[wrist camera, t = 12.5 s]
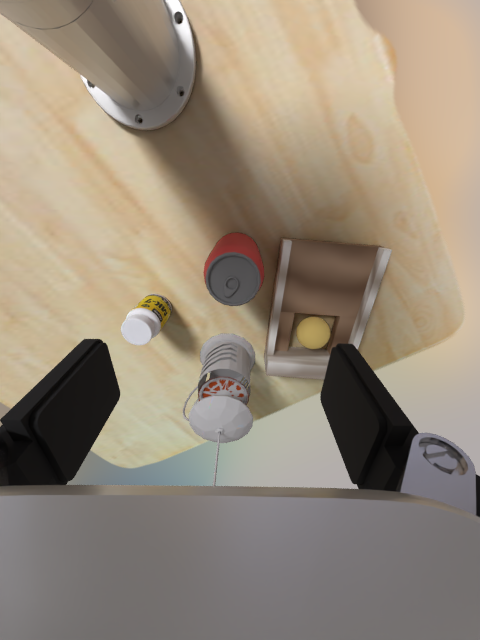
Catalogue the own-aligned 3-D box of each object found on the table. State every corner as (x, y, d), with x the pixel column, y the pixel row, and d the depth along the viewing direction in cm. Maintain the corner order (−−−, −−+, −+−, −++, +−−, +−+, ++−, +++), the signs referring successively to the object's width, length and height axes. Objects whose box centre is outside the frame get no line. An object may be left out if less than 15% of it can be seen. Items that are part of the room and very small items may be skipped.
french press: (265, 364, 44) (288, 539, 21) (212, 391, 47) (183, 569, 24) (235, 323, 40) (224, 480, 18) (180, 354, 43) (110, 524, 21)
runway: (281, 237, 34) (286, 243, 29) (380, 246, 34) (400, 252, 30) (263, 356, 43) (266, 375, 38) (343, 362, 43) (354, 381, 39)
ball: (302, 320, 35) (296, 352, 36) (337, 324, 34) (330, 356, 36) (296, 311, 39) (292, 339, 41) (327, 314, 39) (322, 342, 41)
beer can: (207, 268, 36) (191, 297, 25) (222, 224, 33) (212, 235, 23) (248, 284, 37) (250, 319, 26) (266, 242, 34) (277, 262, 24)
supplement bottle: (178, 304, 39) (161, 330, 31) (163, 325, 40) (144, 354, 33) (151, 286, 37) (127, 308, 30) (137, 309, 39) (111, 335, 32)
